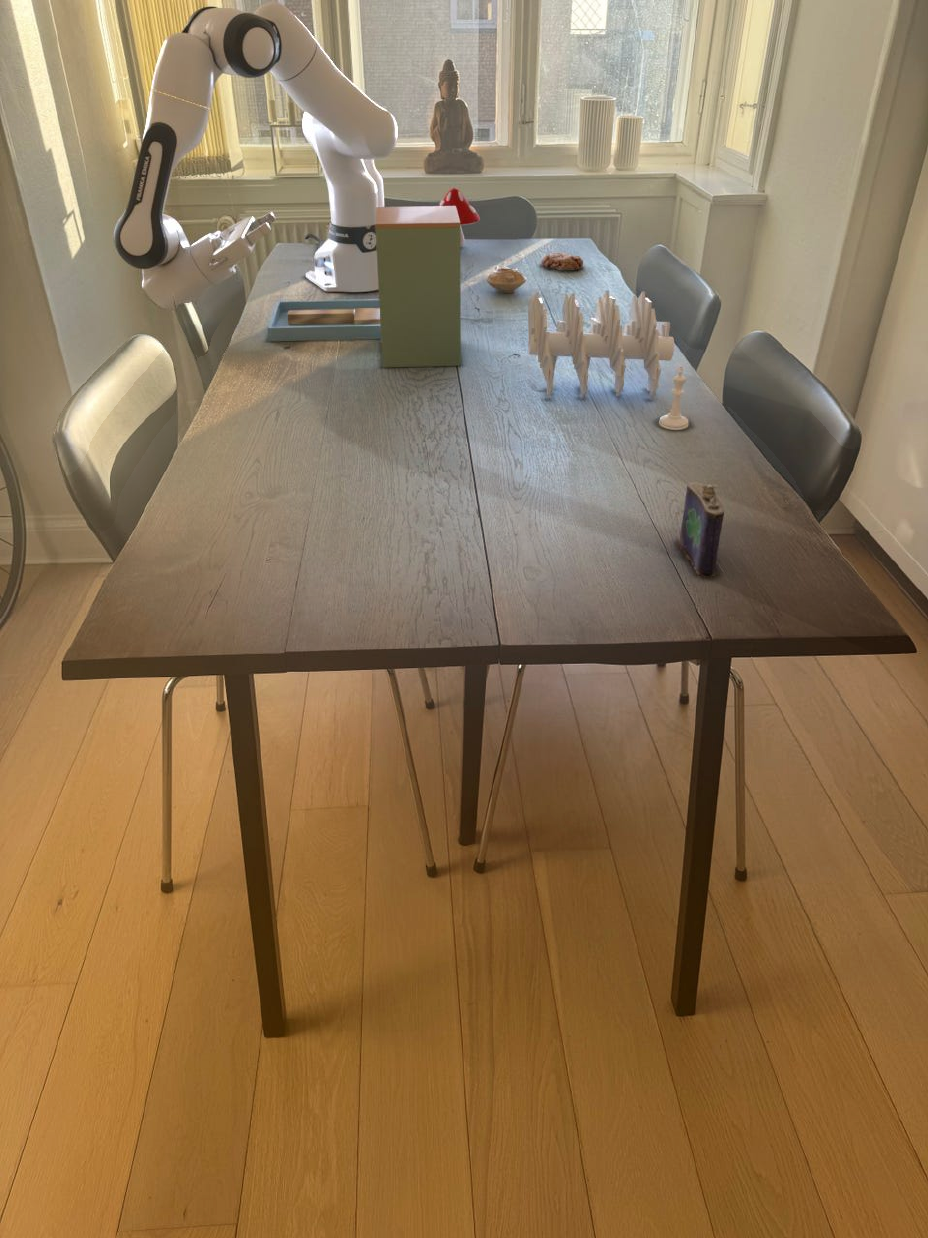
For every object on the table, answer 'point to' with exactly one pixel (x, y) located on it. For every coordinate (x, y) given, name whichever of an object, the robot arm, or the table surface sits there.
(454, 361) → the plinth
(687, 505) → the flask
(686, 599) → the table surface
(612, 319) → the spiral staircase
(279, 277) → the table surface
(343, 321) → the paddle
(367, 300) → the tray
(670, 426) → the chess piece
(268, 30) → the robot arm
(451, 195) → the decorative mushroom
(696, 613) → the table surface
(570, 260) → the cookie
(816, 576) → the table surface
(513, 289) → the pottery oil lamp
